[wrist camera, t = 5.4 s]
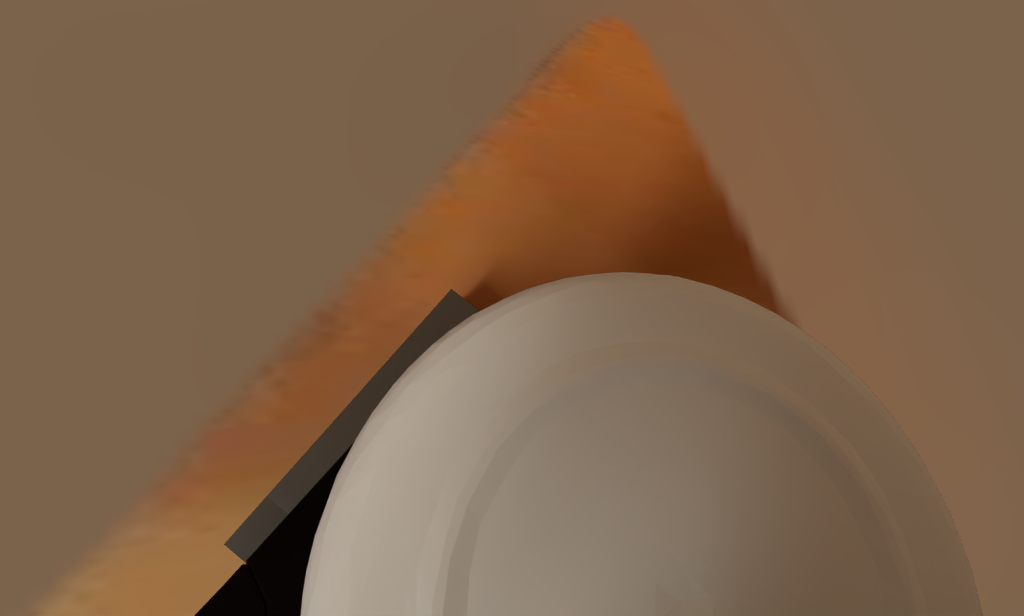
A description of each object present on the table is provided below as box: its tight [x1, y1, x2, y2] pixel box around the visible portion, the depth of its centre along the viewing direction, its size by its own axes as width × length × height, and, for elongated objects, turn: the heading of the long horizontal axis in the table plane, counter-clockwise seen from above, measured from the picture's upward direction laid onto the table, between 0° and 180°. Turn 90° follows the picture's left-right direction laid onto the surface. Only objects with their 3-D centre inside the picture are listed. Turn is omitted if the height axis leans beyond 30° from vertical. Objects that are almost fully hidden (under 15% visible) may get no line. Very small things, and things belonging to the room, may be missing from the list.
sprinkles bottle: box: [301, 272, 983, 616], centre depth 9 cm, size 5×5×14 cm
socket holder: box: [224, 289, 479, 563], centre depth 16 cm, size 10×10×2 cm
